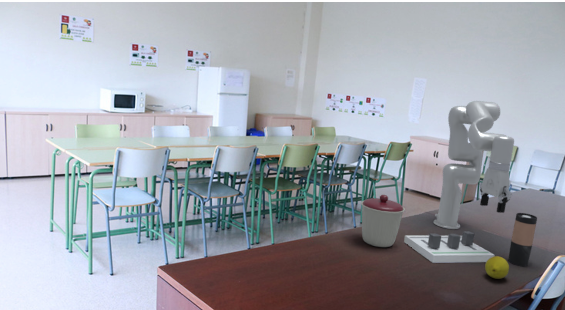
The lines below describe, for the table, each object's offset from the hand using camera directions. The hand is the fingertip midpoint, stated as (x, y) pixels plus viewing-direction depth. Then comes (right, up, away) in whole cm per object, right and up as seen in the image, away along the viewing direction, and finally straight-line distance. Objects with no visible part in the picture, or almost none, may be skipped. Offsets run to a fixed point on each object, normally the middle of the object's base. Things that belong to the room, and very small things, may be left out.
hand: (491, 208), depth 181 cm
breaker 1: (-23, -16, +2) cm, 28 cm away
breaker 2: (-14, -16, +4) cm, 22 cm away
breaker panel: (-15, -19, +8) cm, 25 cm away
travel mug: (+12, -23, +3) cm, 26 cm away
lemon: (-6, -24, -15) cm, 29 cm away
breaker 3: (-6, -16, +10) cm, 20 cm away
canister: (-44, -16, +10) cm, 48 cm away
